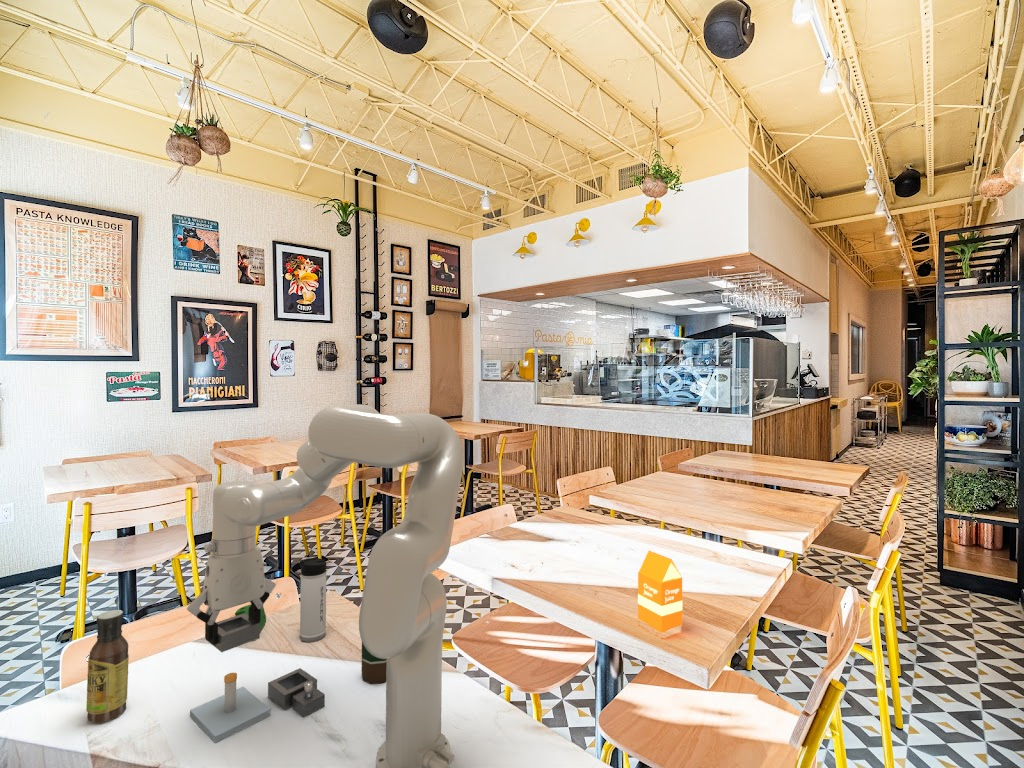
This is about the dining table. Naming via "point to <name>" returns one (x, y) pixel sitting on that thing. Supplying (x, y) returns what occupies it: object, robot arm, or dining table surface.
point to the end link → (236, 632)
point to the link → (288, 687)
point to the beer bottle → (373, 668)
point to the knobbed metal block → (308, 700)
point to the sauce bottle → (107, 670)
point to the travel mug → (313, 599)
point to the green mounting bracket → (246, 611)
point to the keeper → (229, 711)
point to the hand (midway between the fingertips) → (233, 634)
